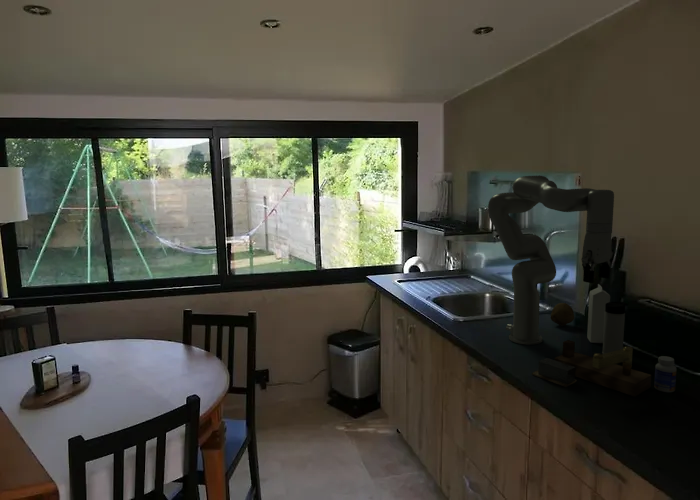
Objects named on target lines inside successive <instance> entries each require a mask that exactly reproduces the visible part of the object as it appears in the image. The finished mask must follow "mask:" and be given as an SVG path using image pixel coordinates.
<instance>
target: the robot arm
mask: <svg viewBox="0 0 700 500" xmlns="http://www.w3.org/2000/svg"><path fill="white" fill-rule="evenodd" d="M614 202H615V192H614V191H613V190H610V189H594V188H590V187H588V188H587V187H586V188H585V187H583V188H569V189H566V188H560V187H558V186H557V183H555V181H553V180H549V178H547V176H544V175H523V176H520V177H518V178H517V179H515V180H514V181H513V184H512V192H511V191H510V192H501V193H497V194H495V195H493V196H492V197H491V198H490V199H489V201H488V205H487V214H488V217H489V219H490V222H491V223H492V226H493V227H494V229H495V230H496V232H497V234H498V237H499V239H500V241H501V243H502V244H501V245H502V246H503V249H504V251H505V253H506V255H507V257H508V258H509V259H510V260H512V261H520V262H517V263H516V264H515V265H514V266H512V269H511V278H512V279H511V280H512V285H513V316H512V317H513V318H512V319H513V320H512V323H513V324H511V323H508V324H506V327H505V330H506V331H508V332H510V334H509V335H508V339H509V340H510V341H511V342H512V343H515V344H520V345H528V346H533V345H540V344H541V343H542V342H543V339H544V338H543V337H542V335H540V334H539V333H540V332H539V331H540V328H539V327H540V326H539V325H540V304H541V302H540V301H541V299H540V293H539V290H538V288H537V286H536V285H541V284H546V283H551V282H553V281H554V280H555V278H556V277H557V267H556V265H555V262H554V260H553V258H552V255H551V254H550V251H549V249H548V247H547V245H546V243H545V241H544V240H543V239H542V238H541V237H540V236H539V235H537V234H524V233H523V232H522V230H521V228H520V225H519V224H518V222H517V221H516V220H515V219H514V218H512V217H511V216H510V214H522V213H526V212H529V211H530V210H532V209H533V208H534V207H536V206H538V204H542V205H543V206H544V207H545V208H547V209H550V210H554V211H557V212H562V213H572V212H585V211H586V225H585V226H586V227H585V235H584V240H583V244H582V245H583V246H582V256H581V263H582V264H581V266H582V270H583V273H582V274H583V276H582V280H583V282H584V283H590V284H593V283H594V282H595V281H594V280H595V270H594V268H595V266H596V265H599V270H598V277H599V278H602V279H610V276H611V275H610V272H611V265H612V263H611V262H612V260H613V255H614V253H613V252H614V251H612V233H613V223H614V222H613V221H614V205H615V203H614ZM521 260H522V261H521Z"/></svg>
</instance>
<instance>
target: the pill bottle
mask: <svg viewBox="0 0 700 500" xmlns="http://www.w3.org/2000/svg"><path fill="white" fill-rule="evenodd" d="M677 369H678V368H677V367H676V366H675V359H674V357H670V356H666V355H665V356H664V355H661V356H659V357H658V360H657V363H656V364H655V370H654V385H653V386H654V388H655V390H658V391H659V392H662V393H673V392H675V391H676V383H677V382H676V381H677V372H678V371H677Z"/></svg>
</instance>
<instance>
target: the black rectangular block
mask: <svg viewBox="0 0 700 500" xmlns="http://www.w3.org/2000/svg"><path fill="white" fill-rule="evenodd" d="M575 368H576V367H574V366H571V365H567V364H564V363H561V362H558V361H555V360H554V359H551V358H550V357H545V358H543V359H541V360H538V369H537V370H538V374H539V375H542V376H545V377H547V378H550V379H553V380H556V381H559V382H561V383H564V384H569V383H571V382H573V381H575V380H576V376H575Z"/></svg>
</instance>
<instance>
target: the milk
mask: <svg viewBox="0 0 700 500" xmlns="http://www.w3.org/2000/svg"><path fill="white" fill-rule="evenodd" d="M609 302H611V295H610V294H609V293H608V292H607V291H606V290H604V289H603V286H601V284H599V283H598V284H597V287H596V288H594V289H592V290H590V291H589V295H588V316H587V334H586V335H587V336H586V337H587V340H588V341H589V342H590V343H591V344H592V343H594V344H603V335H604V317H605V305H606V303H609Z"/></svg>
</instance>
